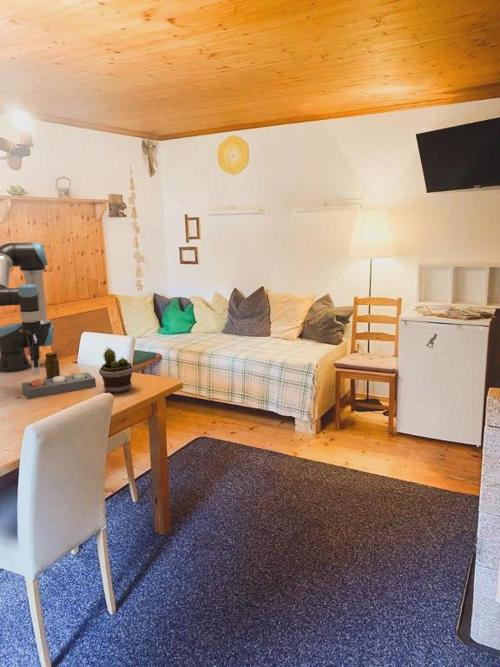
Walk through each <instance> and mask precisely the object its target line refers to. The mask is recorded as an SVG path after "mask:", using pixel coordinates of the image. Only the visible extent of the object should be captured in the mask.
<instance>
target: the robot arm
mask: <svg viewBox="0 0 500 667" xmlns="http://www.w3.org/2000/svg"><path fill="white" fill-rule="evenodd" d="M47 266H48V259H47V255H46V250H45V247H44V245H43V243H41V242H33V241H31V242H8V243H4V244H2V245H0V307H7V306H8V307H9V306H19V308H20V309H19V310H20V313H19V317H20V320H21V321H22V322H14V323H9V324H8V323H7V324H5V325H1V326H0V372H2V373H14V372H15V373H16V372H21V371H24V370H28V369H29V368H31V369H32V370H31V371H32V375H33V376H35V375H36V376H37V375H40V374H41V370H40V347H43V348H44V347H48V346H52V345H53V342H54V329H55V328H54V323H51V319H49V318H48V314H47V307H46V305H47V304H46V296H45V286H44V277H43V276H44V275H43V272H44V271H45V270H46V267H47ZM12 267H15V268H16V267H19V270H20V271H21V272H22V273H23V276H24V277H23V278H24V284H20V285H18V286H17V287H11V288H10V287H9V286H10V285H9V284H10V272H11V268H12ZM26 348H27V349H28V350H29V357H30V360H29V358H28V356H27V354H26ZM30 361H31V363H30Z"/></svg>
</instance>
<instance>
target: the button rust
mask: <svg viewBox="0 0 500 667" xmlns="http://www.w3.org/2000/svg"><path fill="white" fill-rule="evenodd" d="M43 380H44V379H33V380H31V381H30V382H31V386H32V387H36V386H42V385H44V381H43Z"/></svg>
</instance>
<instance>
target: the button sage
mask: <svg viewBox="0 0 500 667" xmlns="http://www.w3.org/2000/svg"><path fill="white" fill-rule="evenodd" d="M77 374H78V375H75V374H73V375H74V380H77V379H83V378H85V375H84V374H81V373H77Z"/></svg>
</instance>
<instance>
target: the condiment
mask: <svg viewBox="0 0 500 667" xmlns="http://www.w3.org/2000/svg"><path fill="white" fill-rule="evenodd" d="M44 362H45V372H46V374H45V375H46V376H43V378H44V379H51V378H53V377H56V376H61V375H60V374H61V371H60V361H59V358H58V352H47V353H46V354H45V360H44Z"/></svg>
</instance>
